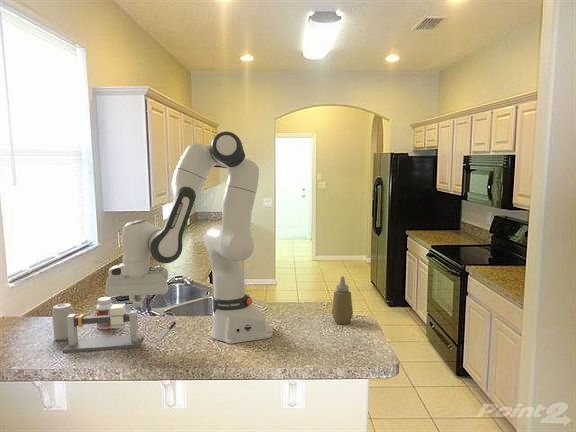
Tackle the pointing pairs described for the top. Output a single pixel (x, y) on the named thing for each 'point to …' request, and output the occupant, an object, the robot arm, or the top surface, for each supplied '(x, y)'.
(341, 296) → the squeeze bottle
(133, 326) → the grey slider rail base
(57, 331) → the beverage can
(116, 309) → the cream sliding block
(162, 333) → the chef's knife
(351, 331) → the top surface
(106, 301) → the pill bottle
